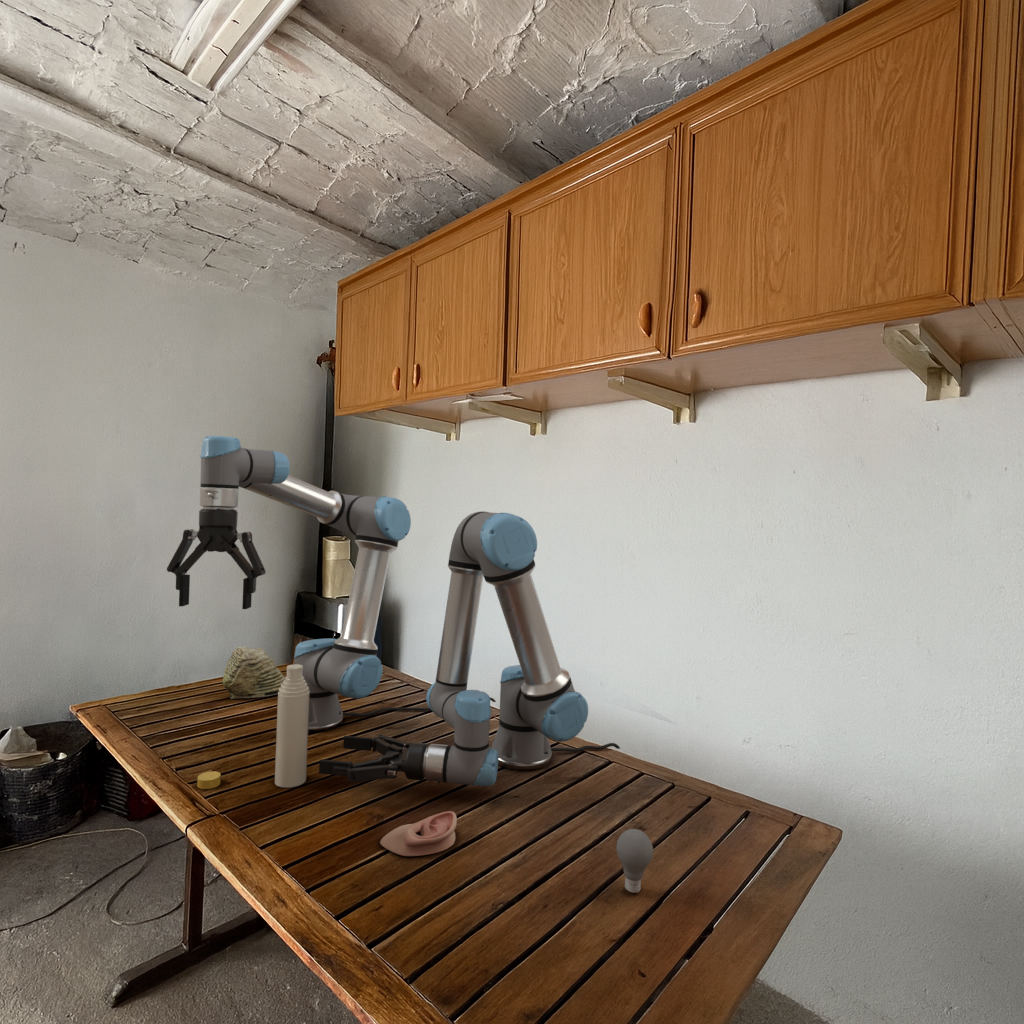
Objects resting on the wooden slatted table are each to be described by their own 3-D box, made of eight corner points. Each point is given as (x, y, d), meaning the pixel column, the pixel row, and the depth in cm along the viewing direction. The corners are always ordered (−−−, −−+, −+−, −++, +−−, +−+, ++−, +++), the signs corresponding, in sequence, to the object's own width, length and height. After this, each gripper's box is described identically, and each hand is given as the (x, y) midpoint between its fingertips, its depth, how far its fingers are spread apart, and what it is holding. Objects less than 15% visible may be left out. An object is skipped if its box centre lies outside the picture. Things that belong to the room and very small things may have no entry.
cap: (225, 781, 139) (225, 773, 139) (209, 790, 134) (210, 781, 134) (207, 778, 140) (208, 769, 140) (192, 787, 136) (192, 778, 136)
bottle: (302, 787, 138) (307, 670, 137) (271, 787, 137) (275, 670, 136) (308, 774, 144) (313, 662, 144) (278, 774, 143) (282, 662, 143)
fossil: (218, 695, 195) (220, 647, 195) (278, 685, 208) (279, 640, 207) (228, 703, 189) (230, 653, 188) (289, 692, 201) (290, 645, 201)
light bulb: (610, 879, 108) (613, 822, 108) (644, 879, 109) (647, 822, 109) (619, 902, 102) (622, 840, 102) (655, 901, 103) (658, 840, 103)
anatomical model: (373, 829, 114) (398, 800, 125) (372, 851, 114) (397, 820, 125) (444, 840, 111) (462, 809, 122) (443, 863, 111) (461, 830, 122)
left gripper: (150, 506, 132) (147, 607, 133) (269, 511, 132) (266, 612, 133) (170, 505, 140) (167, 601, 140) (283, 510, 140) (279, 606, 140)
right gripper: (410, 806, 125) (307, 796, 127) (438, 756, 150) (352, 748, 152) (412, 768, 125) (309, 759, 127) (440, 724, 150) (353, 717, 152)
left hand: (215, 606), depth 136 cm, fingers open, 13 cm apart
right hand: (332, 753), depth 140 cm, fingers open, 13 cm apart
